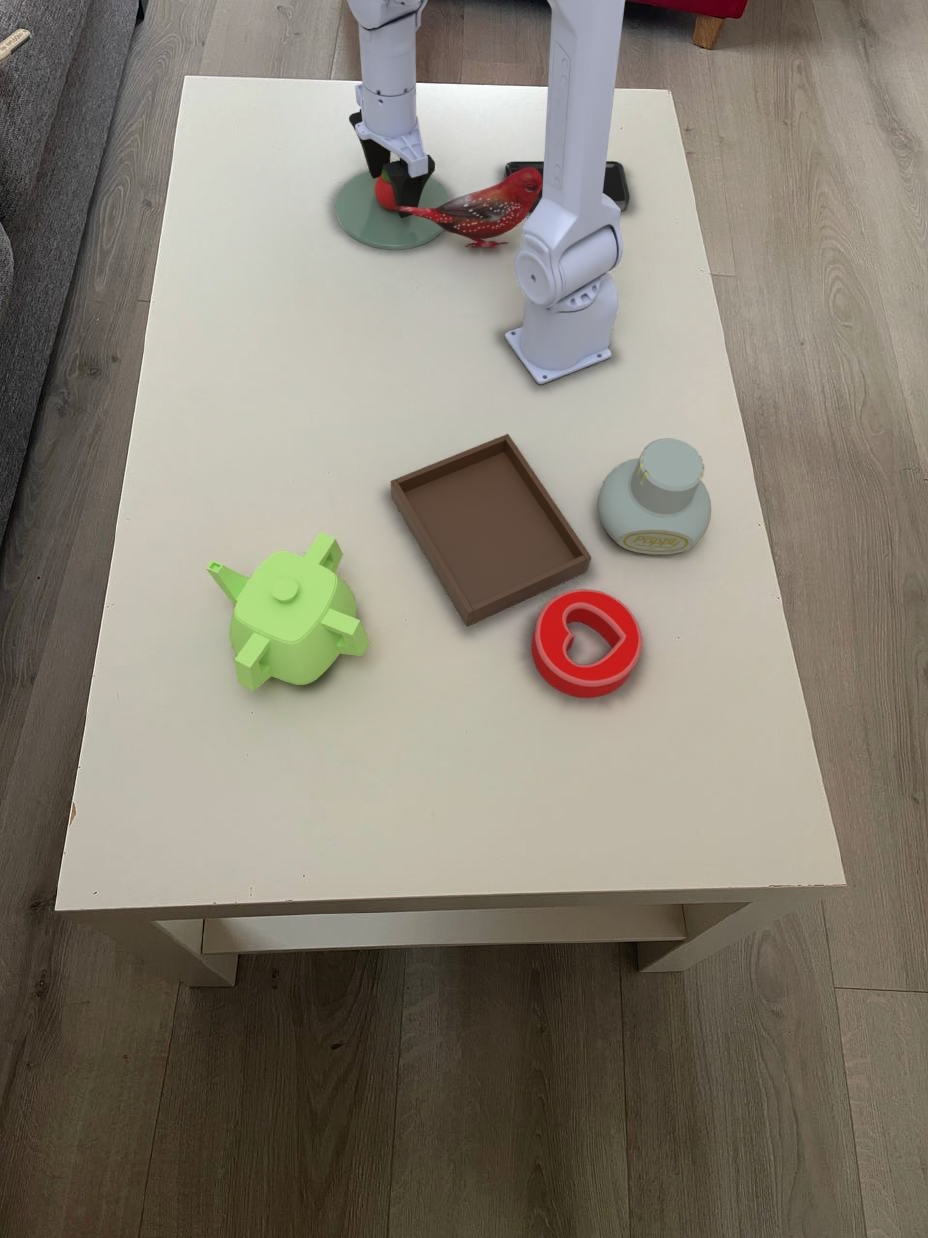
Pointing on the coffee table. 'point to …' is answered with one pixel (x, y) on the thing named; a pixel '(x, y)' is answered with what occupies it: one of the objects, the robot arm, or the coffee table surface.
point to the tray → (489, 528)
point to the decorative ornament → (557, 639)
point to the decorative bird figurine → (486, 208)
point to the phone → (612, 185)
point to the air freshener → (657, 499)
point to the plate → (386, 215)
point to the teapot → (291, 615)
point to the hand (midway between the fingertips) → (393, 194)
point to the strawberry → (384, 191)
